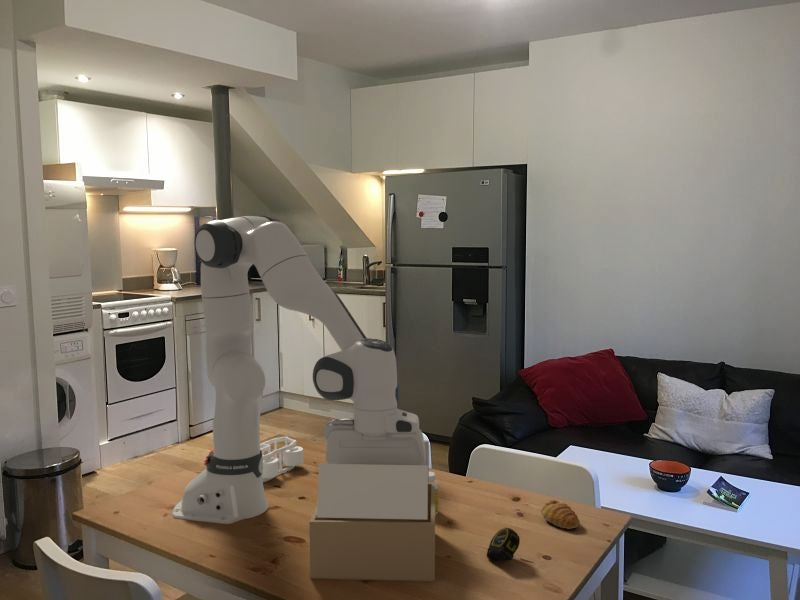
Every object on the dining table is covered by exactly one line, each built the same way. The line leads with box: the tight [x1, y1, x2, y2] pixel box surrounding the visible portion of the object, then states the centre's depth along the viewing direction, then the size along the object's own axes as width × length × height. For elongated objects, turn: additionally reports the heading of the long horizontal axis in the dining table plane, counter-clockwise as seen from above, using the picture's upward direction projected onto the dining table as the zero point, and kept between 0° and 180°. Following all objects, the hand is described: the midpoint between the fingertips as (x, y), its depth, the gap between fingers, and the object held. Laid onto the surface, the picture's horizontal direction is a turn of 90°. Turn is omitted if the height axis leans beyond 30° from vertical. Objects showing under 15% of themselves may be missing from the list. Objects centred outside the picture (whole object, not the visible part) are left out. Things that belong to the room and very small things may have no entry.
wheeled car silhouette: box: [260, 436, 304, 483], centre depth 193 cm, size 20×11×7 cm, turn 151°
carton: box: [308, 482, 436, 583], centre depth 142 cm, size 24×22×12 cm
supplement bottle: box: [428, 470, 439, 516], centre depth 164 cm, size 5×5×10 cm
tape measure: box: [486, 527, 521, 562], centre depth 139 cm, size 7×7×4 cm
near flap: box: [316, 463, 428, 520], centre depth 132 cm, size 21×10×1 cm
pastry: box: [540, 499, 581, 530], centre depth 158 cm, size 9×7×4 cm
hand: (376, 486), depth 139 cm, fingers closed
